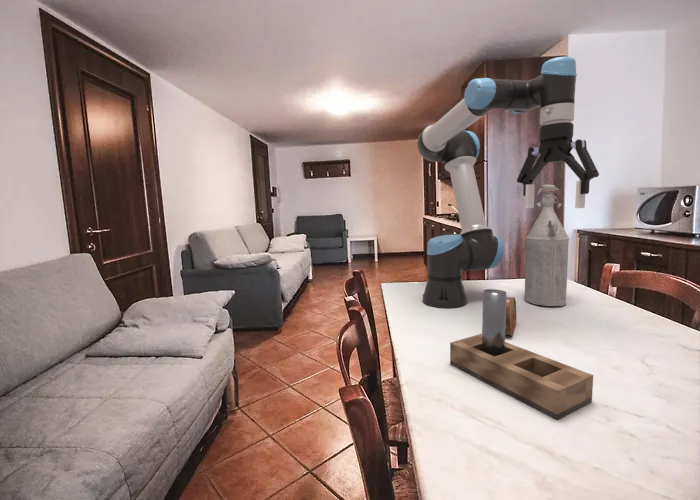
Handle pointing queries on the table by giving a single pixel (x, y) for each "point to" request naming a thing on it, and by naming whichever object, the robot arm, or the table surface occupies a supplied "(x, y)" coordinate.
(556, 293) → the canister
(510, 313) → the tin
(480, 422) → the table surface
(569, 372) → the bore block
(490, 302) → the pin
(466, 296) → the robot arm
